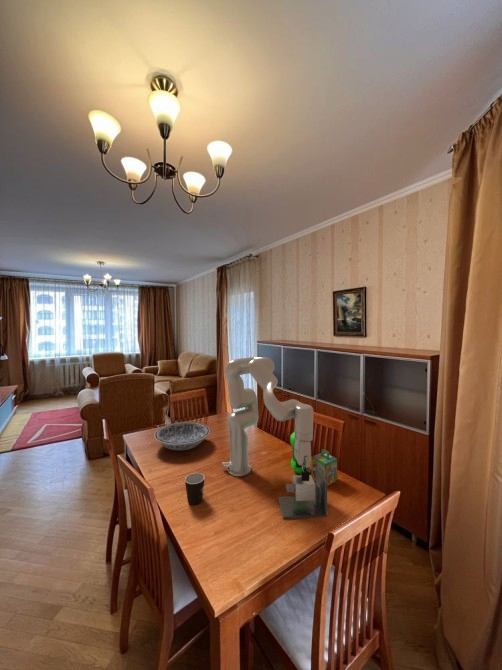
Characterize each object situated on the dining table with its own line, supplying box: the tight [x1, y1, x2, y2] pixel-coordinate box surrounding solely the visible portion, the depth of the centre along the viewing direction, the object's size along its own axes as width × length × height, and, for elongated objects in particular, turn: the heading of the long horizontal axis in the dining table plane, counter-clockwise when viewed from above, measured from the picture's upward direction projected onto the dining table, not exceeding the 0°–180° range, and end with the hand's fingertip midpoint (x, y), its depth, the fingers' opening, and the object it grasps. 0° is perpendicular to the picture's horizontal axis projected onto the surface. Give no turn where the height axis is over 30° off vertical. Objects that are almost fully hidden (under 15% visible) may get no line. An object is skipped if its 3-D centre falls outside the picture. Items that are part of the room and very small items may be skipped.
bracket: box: [277, 467, 328, 520], centre depth 113 cm, size 18×12×14 cm, turn 93°
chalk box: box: [310, 448, 338, 487], centre depth 133 cm, size 9×9×15 cm
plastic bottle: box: [289, 431, 306, 475], centre depth 141 cm, size 10×10×25 cm
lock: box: [292, 474, 316, 501], centre depth 113 cm, size 8×6×7 cm
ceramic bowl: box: [153, 421, 211, 452], centre depth 172 cm, size 34×34×10 cm
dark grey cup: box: [184, 472, 205, 506], centre depth 120 cm, size 12×9×10 cm
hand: (302, 473), depth 113 cm, fingers open, 9 cm apart
